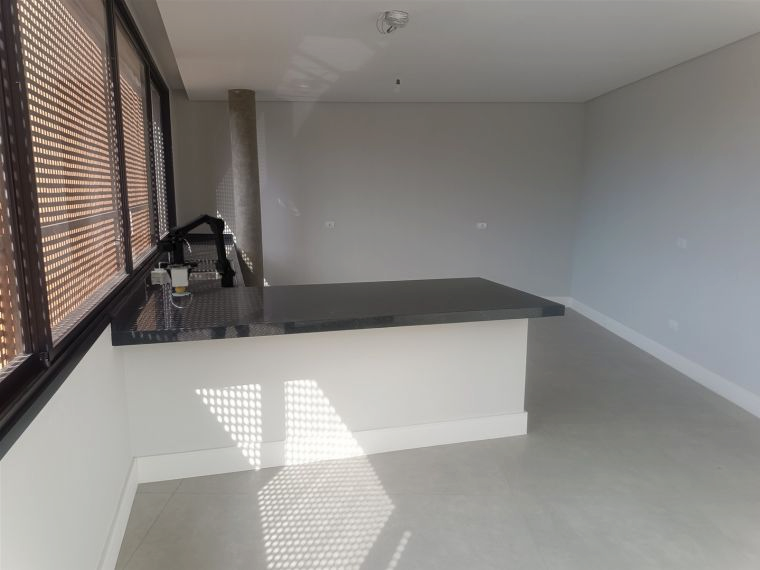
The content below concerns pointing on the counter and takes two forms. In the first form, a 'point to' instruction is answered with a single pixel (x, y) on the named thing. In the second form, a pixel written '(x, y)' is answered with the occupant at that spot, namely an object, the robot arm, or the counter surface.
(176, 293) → the disc
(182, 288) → the ball
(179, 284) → the matte gray cube
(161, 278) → the container
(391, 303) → the counter surface
